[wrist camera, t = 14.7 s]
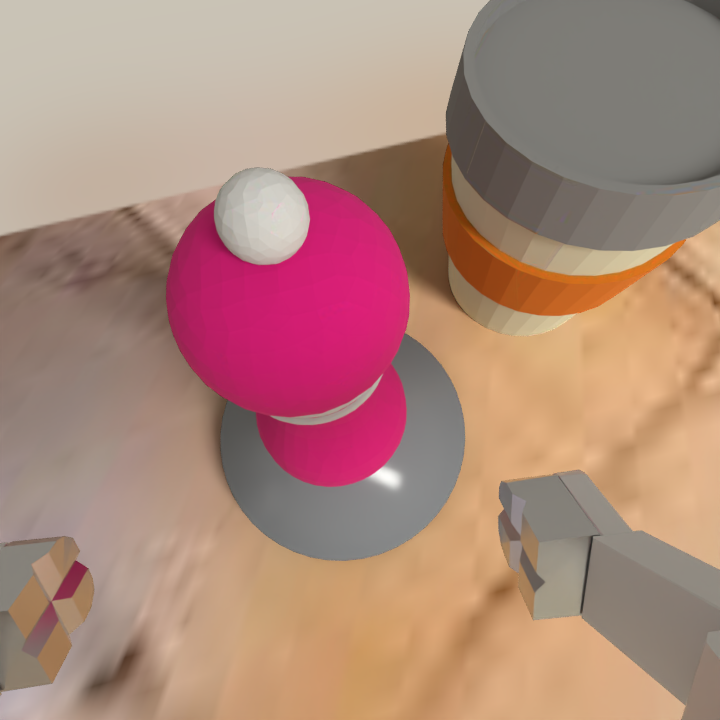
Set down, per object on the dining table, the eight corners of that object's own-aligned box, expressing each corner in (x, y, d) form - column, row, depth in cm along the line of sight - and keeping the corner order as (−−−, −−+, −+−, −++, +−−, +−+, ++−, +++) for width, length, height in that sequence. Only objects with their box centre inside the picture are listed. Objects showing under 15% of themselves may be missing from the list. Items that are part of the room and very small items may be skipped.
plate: (180, 483, 27) (172, 481, 26) (301, 292, 31) (298, 283, 30) (397, 610, 25) (397, 614, 23) (498, 383, 29) (502, 377, 28)
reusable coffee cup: (639, 244, 32) (847, 14, 18) (568, 399, 28) (758, 264, 14) (471, 173, 34) (536, -77, 20) (387, 306, 31) (394, 115, 17)
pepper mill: (275, 374, 28) (71, 55, 9) (395, 364, 28) (432, 23, 9) (277, 499, 26) (3, 405, 7) (409, 488, 26) (497, 364, 7)
